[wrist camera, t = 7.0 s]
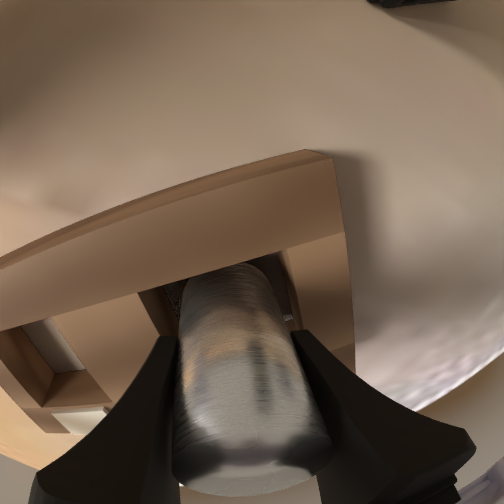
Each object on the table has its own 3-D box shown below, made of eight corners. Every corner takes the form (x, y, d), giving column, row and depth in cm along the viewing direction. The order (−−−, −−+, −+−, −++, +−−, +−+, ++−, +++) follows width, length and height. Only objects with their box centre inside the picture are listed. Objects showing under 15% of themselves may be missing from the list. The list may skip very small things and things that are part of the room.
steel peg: (176, 263, 12) (151, 437, 5) (273, 256, 13) (349, 414, 5) (188, 339, 14) (188, 499, 6) (272, 332, 14) (320, 483, 7)
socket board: (-32, 274, 12) (-61, 303, 9) (305, 149, 12) (336, 159, 9) (56, 401, 16) (44, 436, 14) (336, 341, 17) (357, 381, 14)
